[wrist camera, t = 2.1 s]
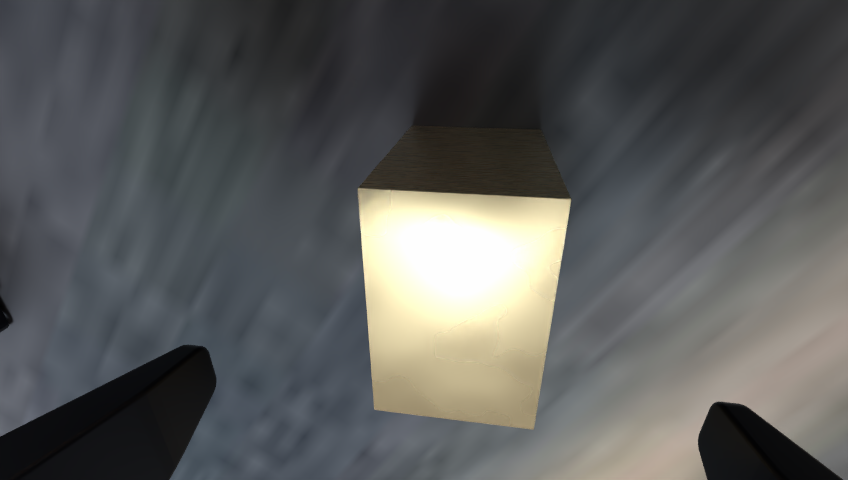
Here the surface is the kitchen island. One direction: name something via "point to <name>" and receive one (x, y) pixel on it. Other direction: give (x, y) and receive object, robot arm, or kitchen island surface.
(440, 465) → the kitchen island surface
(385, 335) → the wood-topped khaki block
